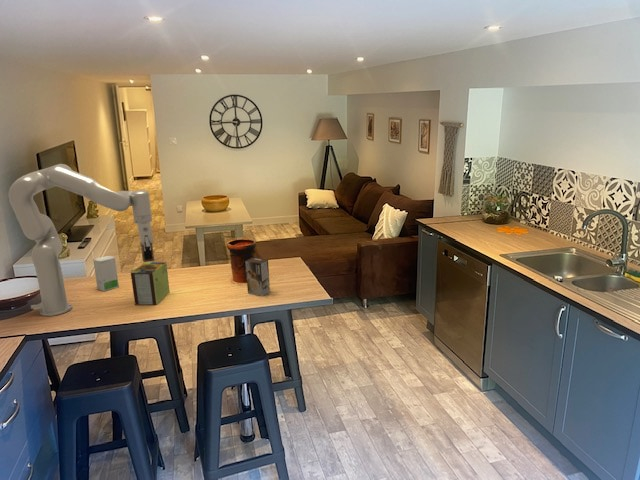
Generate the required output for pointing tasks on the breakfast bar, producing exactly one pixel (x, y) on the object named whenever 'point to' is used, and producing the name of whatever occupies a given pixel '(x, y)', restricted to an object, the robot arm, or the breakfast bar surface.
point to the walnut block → (143, 253)
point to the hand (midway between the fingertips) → (147, 257)
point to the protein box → (150, 283)
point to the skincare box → (106, 273)
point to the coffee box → (257, 276)
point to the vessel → (240, 258)
